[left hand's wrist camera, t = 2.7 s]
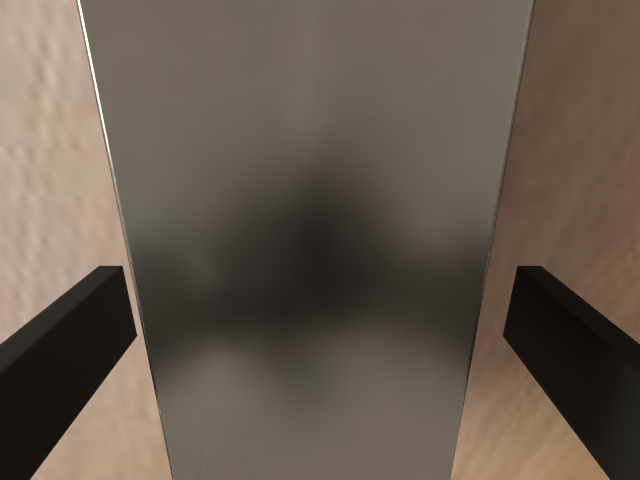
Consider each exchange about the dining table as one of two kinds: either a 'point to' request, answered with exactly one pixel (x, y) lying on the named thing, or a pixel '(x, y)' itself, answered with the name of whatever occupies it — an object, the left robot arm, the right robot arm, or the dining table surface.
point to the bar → (308, 220)
